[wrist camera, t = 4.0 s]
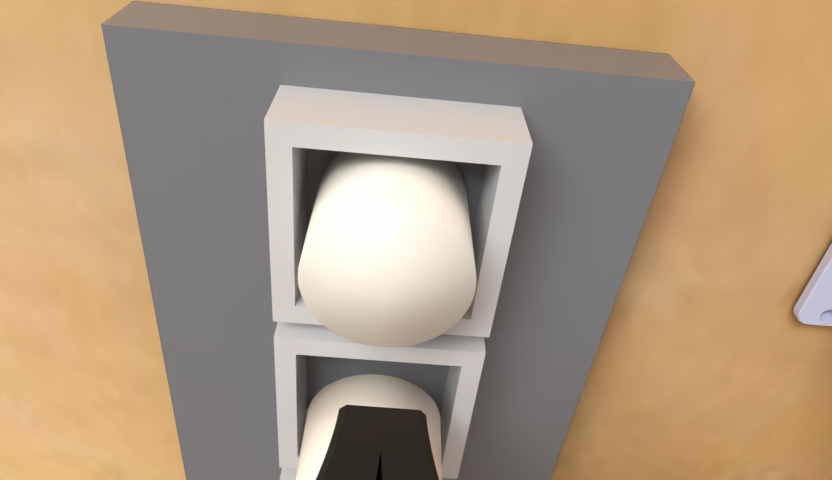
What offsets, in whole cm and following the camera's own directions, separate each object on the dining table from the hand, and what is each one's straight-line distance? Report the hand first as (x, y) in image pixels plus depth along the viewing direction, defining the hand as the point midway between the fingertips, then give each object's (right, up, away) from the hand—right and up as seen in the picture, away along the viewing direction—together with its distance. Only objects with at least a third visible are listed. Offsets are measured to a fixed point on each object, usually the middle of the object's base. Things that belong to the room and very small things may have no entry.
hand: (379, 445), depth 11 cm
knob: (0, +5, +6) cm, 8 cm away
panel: (-1, 0, +12) cm, 12 cm away
